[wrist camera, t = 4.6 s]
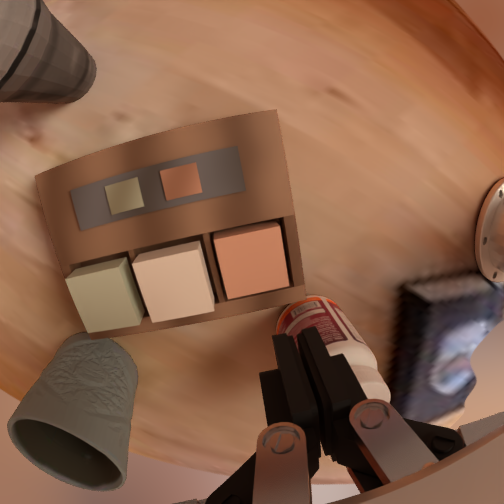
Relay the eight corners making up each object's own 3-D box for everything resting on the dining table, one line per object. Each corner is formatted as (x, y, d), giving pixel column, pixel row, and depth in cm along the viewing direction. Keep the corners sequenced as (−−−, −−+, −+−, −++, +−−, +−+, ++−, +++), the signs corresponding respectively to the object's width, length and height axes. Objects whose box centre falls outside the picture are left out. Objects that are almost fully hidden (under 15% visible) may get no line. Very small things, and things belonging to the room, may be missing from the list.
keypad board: (270, 114, 21) (277, 108, 18) (298, 285, 26) (308, 302, 23) (50, 172, 20) (31, 176, 18) (100, 324, 25) (89, 343, 22)
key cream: (199, 240, 21) (197, 249, 19) (214, 298, 23) (214, 311, 21) (138, 253, 21) (131, 263, 19) (157, 309, 22) (152, 322, 21)
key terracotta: (274, 219, 23) (279, 226, 21) (283, 275, 24) (289, 286, 22) (213, 232, 22) (213, 240, 21) (226, 287, 24) (228, 299, 22)
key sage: (126, 257, 21) (118, 266, 19) (145, 311, 22) (139, 324, 20) (75, 269, 21) (64, 279, 19) (95, 320, 22) (87, 333, 20)
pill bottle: (265, 344, 27) (291, 441, 17) (289, 285, 26) (335, 372, 15) (324, 354, 29) (367, 441, 18) (350, 300, 27) (413, 378, 16)
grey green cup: (115, 315, 25) (66, 412, 14) (164, 394, 28) (151, 493, 17) (39, 338, 25) (-15, 417, 14) (90, 408, 28) (62, 490, 17)
